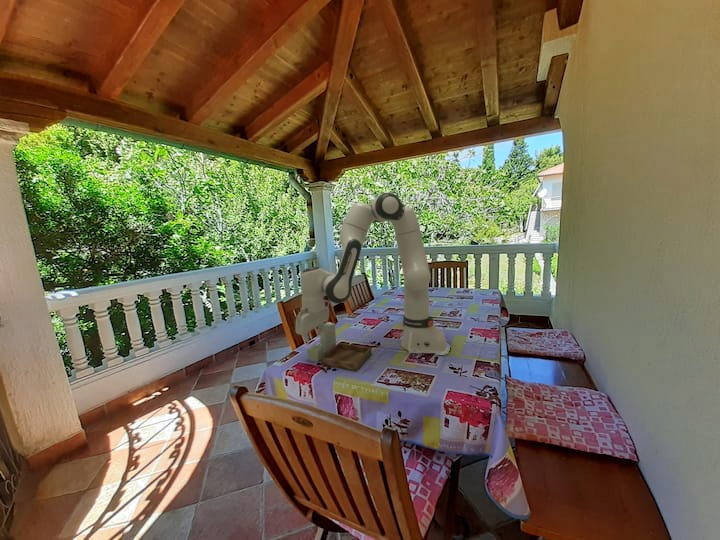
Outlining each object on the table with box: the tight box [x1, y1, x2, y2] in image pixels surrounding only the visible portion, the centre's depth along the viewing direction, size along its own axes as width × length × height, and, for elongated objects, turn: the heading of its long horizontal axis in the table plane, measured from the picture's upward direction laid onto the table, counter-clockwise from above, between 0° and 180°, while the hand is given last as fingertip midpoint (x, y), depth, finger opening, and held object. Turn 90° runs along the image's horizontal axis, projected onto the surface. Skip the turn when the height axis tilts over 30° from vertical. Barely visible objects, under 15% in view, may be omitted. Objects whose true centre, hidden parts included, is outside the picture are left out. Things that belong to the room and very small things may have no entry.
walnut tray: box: [320, 342, 373, 373], centre depth 122 cm, size 16×16×3 cm
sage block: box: [306, 344, 325, 363], centre depth 123 cm, size 5×5×5 cm
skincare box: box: [319, 321, 337, 353], centre depth 131 cm, size 6×4×12 cm
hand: (313, 337), depth 122 cm, fingers open, 8 cm apart
